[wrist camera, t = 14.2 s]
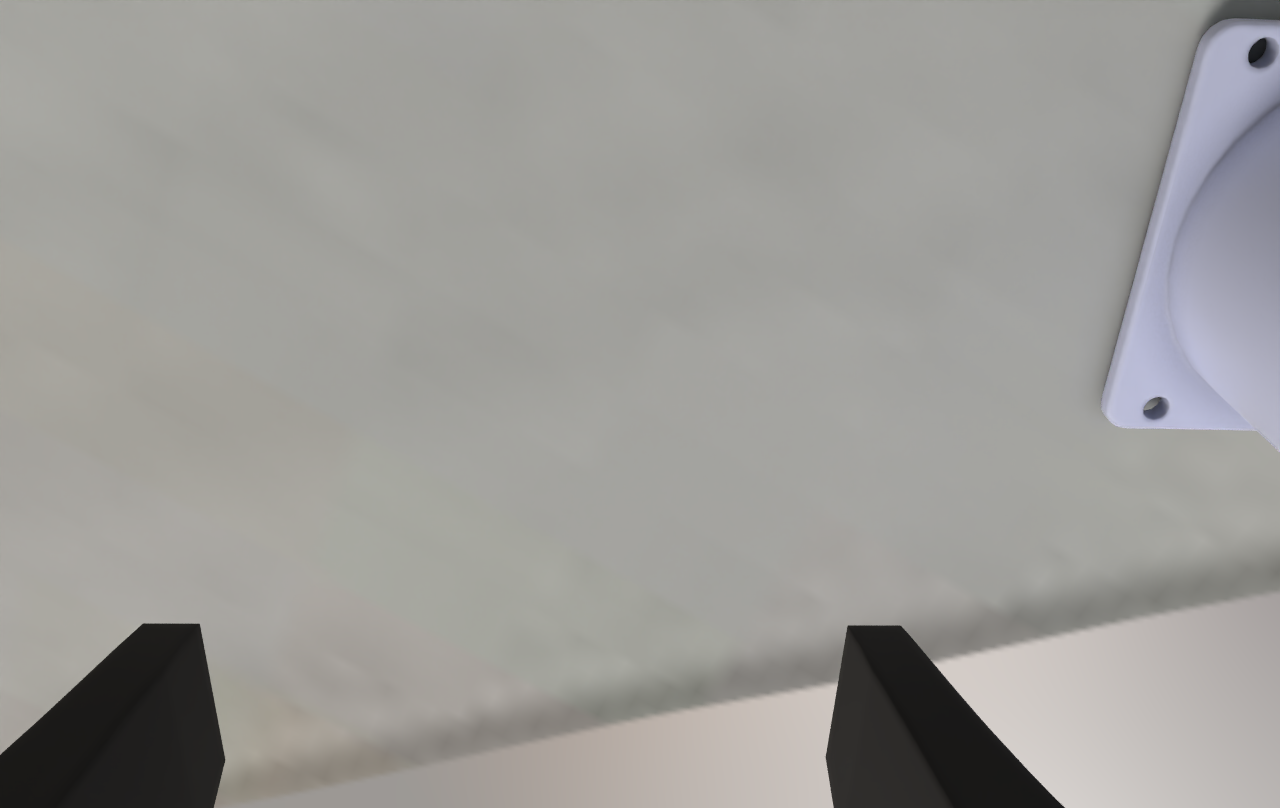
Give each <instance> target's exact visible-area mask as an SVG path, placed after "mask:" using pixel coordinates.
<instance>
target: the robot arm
mask: <svg viewBox="0 0 1280 808" xmlns="http://www.w3.org/2000/svg"><path fill="white" fill-rule="evenodd" d="M1261 38H1265V39H1266V41H1267V44H1266V50H1265V52H1264V54H1263V56H1262V57H1261V58H1260V59H1258V60H1257V61H1256V62H1254V63H1249V61H1248V52H1249V50H1250V48H1251V47H1252V45H1253V44H1254V43H1255V42H1256V41H1258V40H1259V39H1261ZM1156 397H1161V399H1160V401H1159V403H1158V404H1157V405H1156V406H1155V407H1153V408H1152V409H1149V410H1143V408H1144V406H1145V405H1146V403H1147V402H1148V401H1149V400H1151V399H1152V398H1156ZM1101 409H1102V411H1103V413H1104V415H1105V416H1106V417H1107V419H1108V420H1109V421H1110V422H1111V423H1113V424H1114V425H1115V426H1117V427H1122V428H1147V429H1205V430H1257V431H1258V432H1259V433H1260V434H1261V435H1262V436H1263V437H1264V438H1265V439H1266V440H1267V441H1268V442H1269V443H1271V444H1272V445H1273V446H1274V447H1275V448H1276V449H1277V450H1278V451H1279V452H1280V20H1269V19H1243V18H1232V19H1226V20H1221V21H1220V22H1218V23H1216V24H1214V25H1213V26H1211V27H1210V28H1209V29H1208V30H1207V32H1206V33H1205V34H1204V35H1203V36H1202V38H1201V40H1200V42H1199V45H1198V47H1197V50H1196V54H1195V58H1194V61H1193V65H1192V69H1191V72H1190V76H1189V80H1188V83H1187V87H1186V91H1185V94H1184V98H1183V102H1182V105H1181V109H1180V113H1179V116H1178V120H1177V124H1176V127H1175V131H1174V135H1173V138H1172V142H1171V146H1170V149H1169V153H1168V157H1167V160H1166V164H1165V168H1164V171H1163V175H1162V179H1161V182H1160V186H1159V190H1158V193H1157V197H1156V201H1155V204H1154V208H1153V212H1152V215H1151V219H1150V223H1149V226H1148V230H1147V234H1146V237H1145V241H1144V245H1143V248H1142V252H1141V256H1140V259H1139V263H1138V267H1137V270H1136V274H1135V278H1134V281H1133V285H1132V289H1131V292H1130V296H1129V300H1128V303H1127V307H1126V311H1125V314H1124V318H1123V322H1122V325H1121V329H1120V333H1119V336H1118V340H1117V344H1116V347H1115V351H1114V355H1113V358H1112V362H1111V366H1110V369H1109V373H1108V377H1107V380H1106V384H1105V388H1104V391H1103V395H1102V398H1101ZM826 762H827V768H828V774H829V781H830V787H831V793H832V799H833V805H834V808H1065V807H1064V806H1062V805H1061V804H1060V803H1059V802H1058V801H1057V800H1056V799H1055V798H1054V797H1053V796H1052V795H1051V794H1050V793H1049V792H1048V791H1047V790H1046V789H1045V787H1043V785H1041V783H1040V782H1039V781H1038V780H1037V779H1036V778H1035V777H1034V776H1033V775H1032V774H1031V773H1030V772H1029V771H1028V770H1027V769H1026V768H1025V767H1024V766H1023V765H1022V763H1021V762H1020V761H1019V760H1018V759H1017V758H1016V757H1015V756H1014V755H1013V754H1012V753H1011V751H1010V750H1009V749H1008V748H1007V747H1006V746H1005V745H1004V744H1003V743H1002V742H1001V741H1000V740H999V739H998V737H997V736H996V735H995V734H994V733H993V732H992V731H991V730H990V729H989V728H988V726H987V725H986V724H985V723H984V722H983V721H982V720H981V719H980V717H979V716H978V715H977V714H976V713H975V712H974V711H973V709H972V708H971V707H970V706H969V705H968V704H967V703H966V701H965V700H964V699H963V698H962V697H961V695H959V693H958V692H957V691H956V690H955V689H954V687H953V686H952V685H951V684H950V683H949V681H948V680H947V679H946V678H945V677H944V676H943V674H942V673H941V672H940V671H939V670H938V668H937V667H936V666H935V665H934V664H933V662H932V661H931V660H930V659H929V658H928V657H927V655H926V654H925V653H924V652H923V651H922V649H921V648H920V647H919V646H918V645H917V643H916V642H915V641H914V640H913V639H912V638H911V636H910V635H909V634H908V633H907V632H906V631H905V630H904V629H903V628H902V627H901V626H848V627H847V633H846V639H845V645H844V651H843V657H842V663H841V669H840V675H839V681H838V687H837V693H836V699H835V705H834V711H833V717H832V724H831V729H830V735H829V741H828V747H827V753H826ZM224 763H225V756H224V750H223V745H222V740H221V735H220V729H219V724H218V719H217V713H216V708H215V703H214V697H213V692H212V687H211V681H210V676H209V671H208V665H207V660H206V655H205V650H204V644H203V639H202V634H201V628H200V624H142V625H141V626H140V627H139V628H138V629H137V630H135V631H134V632H133V633H132V634H131V635H130V636H129V637H128V638H127V639H126V640H124V641H123V642H122V643H121V644H120V645H119V646H118V647H117V648H116V649H115V650H113V651H112V652H111V653H110V654H109V655H108V656H107V657H106V658H105V659H104V660H103V661H102V662H101V663H100V664H98V665H97V666H96V667H95V668H94V669H93V670H92V671H91V672H90V673H89V674H88V675H87V676H86V677H85V678H84V679H83V680H81V681H80V682H79V683H78V684H77V685H76V686H75V687H74V688H73V689H72V690H71V691H70V692H69V693H68V694H66V695H65V696H64V697H63V698H62V699H61V700H60V701H59V702H58V703H57V704H56V705H55V706H54V707H53V708H51V709H50V710H49V711H48V712H47V713H46V714H45V715H44V716H43V717H42V718H41V719H40V720H38V721H37V722H36V723H35V724H34V725H33V726H32V727H31V728H30V729H28V730H27V731H26V732H25V733H24V734H23V735H22V736H21V737H20V738H18V739H17V740H16V741H15V742H14V743H13V744H12V745H11V746H10V747H8V748H7V749H6V750H5V751H4V752H3V753H2V754H1V755H0V808H214V804H215V800H216V796H217V792H218V788H219V783H220V779H221V775H222V771H223V767H224Z"/></svg>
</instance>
